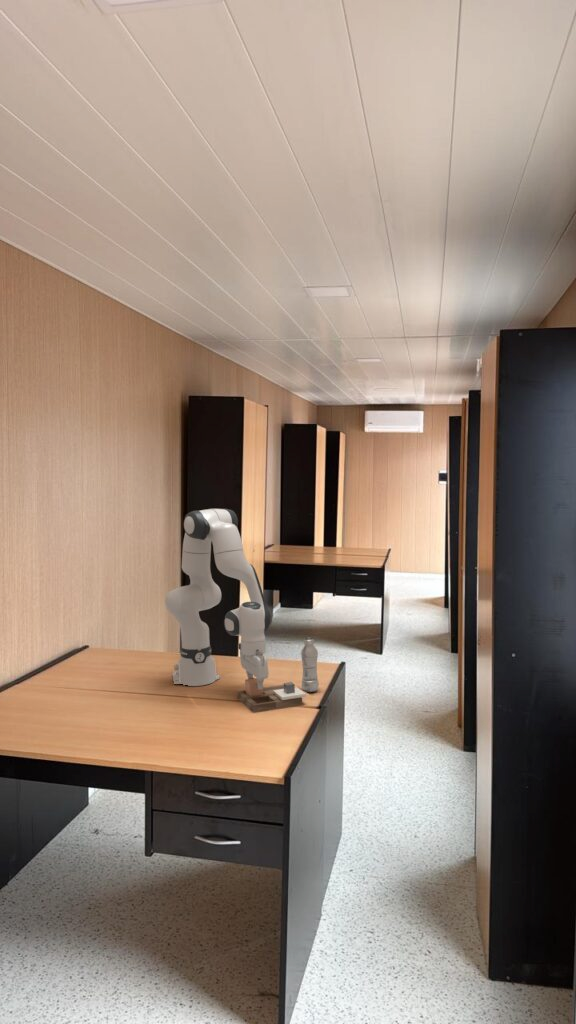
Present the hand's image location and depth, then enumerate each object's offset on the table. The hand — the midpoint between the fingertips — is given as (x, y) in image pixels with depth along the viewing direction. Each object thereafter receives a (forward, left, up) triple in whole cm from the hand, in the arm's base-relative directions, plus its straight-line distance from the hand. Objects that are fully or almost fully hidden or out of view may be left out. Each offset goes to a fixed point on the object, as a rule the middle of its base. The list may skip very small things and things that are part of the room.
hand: (255, 685), depth 269 cm
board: (+4, +4, -6) cm, 8 cm away
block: (0, 0, -5) cm, 5 cm away
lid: (+9, +10, -2) cm, 13 cm away
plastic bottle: (-3, +23, -6) cm, 24 cm away
